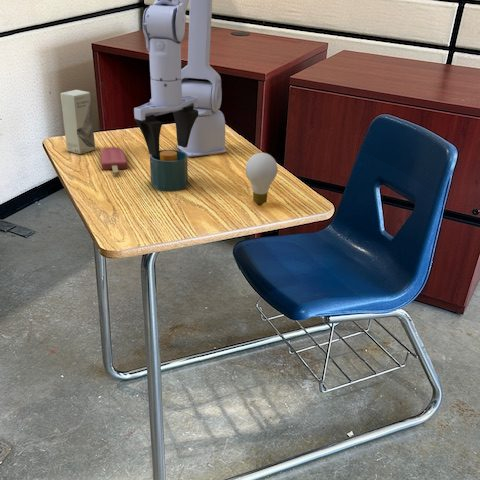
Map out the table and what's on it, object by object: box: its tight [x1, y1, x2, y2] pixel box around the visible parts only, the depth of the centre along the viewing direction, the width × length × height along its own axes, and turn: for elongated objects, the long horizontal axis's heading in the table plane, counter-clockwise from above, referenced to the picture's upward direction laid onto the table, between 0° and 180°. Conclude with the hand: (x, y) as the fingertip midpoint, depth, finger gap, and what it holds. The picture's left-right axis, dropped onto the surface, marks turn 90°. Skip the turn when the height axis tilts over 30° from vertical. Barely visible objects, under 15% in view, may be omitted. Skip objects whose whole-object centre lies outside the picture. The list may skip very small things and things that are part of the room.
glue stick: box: [160, 149, 177, 161], centre depth 121 cm, size 3×3×6 cm
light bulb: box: [245, 152, 278, 206], centre depth 113 cm, size 6×6×10 cm
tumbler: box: [149, 149, 189, 192], centre depth 122 cm, size 7×7×6 cm
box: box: [60, 89, 96, 155], centre depth 136 cm, size 5×4×13 cm
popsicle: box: [100, 146, 128, 175], centre depth 132 cm, size 5×2×15 cm
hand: (168, 150), depth 119 cm, fingers open, 7 cm apart
